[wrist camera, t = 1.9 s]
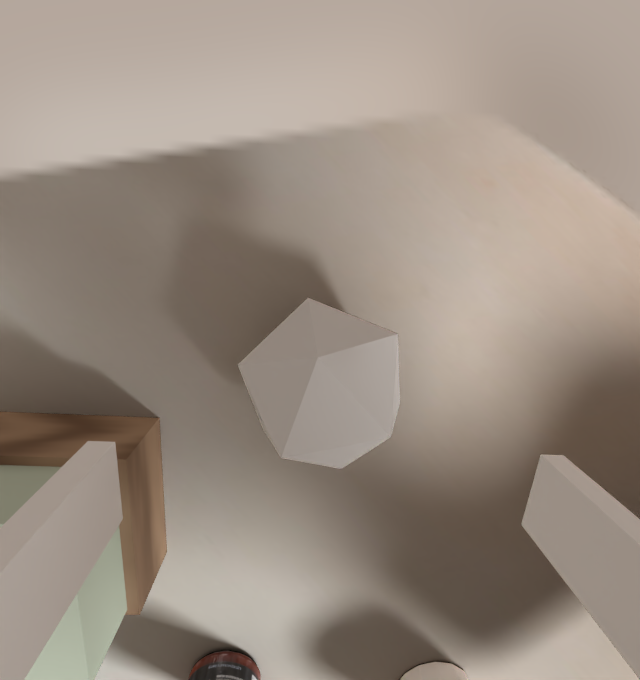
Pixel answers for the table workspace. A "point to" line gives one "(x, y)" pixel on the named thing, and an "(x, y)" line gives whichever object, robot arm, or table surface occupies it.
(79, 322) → the table surface
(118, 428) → the walnut slab
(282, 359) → the die
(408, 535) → the table surface
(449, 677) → the white cup
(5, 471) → the sage block
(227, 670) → the supplement bottle
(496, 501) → the table surface
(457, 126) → the table surface
